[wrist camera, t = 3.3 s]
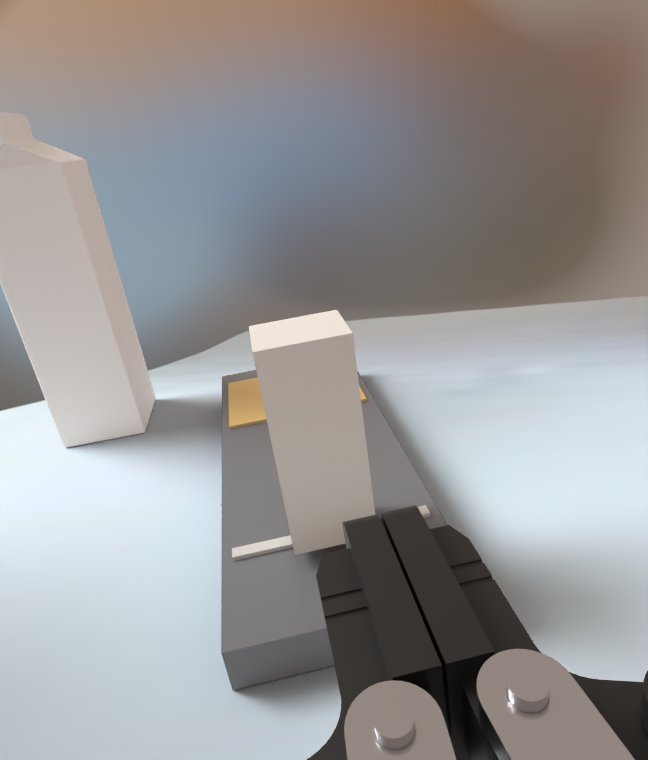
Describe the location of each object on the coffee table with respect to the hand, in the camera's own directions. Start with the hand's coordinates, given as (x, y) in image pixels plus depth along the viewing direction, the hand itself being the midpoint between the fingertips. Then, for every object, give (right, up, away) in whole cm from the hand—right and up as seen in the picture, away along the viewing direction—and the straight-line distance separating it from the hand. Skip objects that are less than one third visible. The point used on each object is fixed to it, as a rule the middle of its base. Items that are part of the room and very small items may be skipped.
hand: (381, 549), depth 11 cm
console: (-2, -2, +22) cm, 22 cm away
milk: (-18, 0, +33) cm, 37 cm away
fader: (-1, -3, +14) cm, 14 cm away
